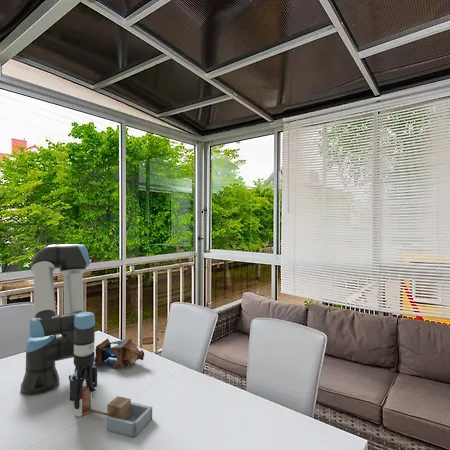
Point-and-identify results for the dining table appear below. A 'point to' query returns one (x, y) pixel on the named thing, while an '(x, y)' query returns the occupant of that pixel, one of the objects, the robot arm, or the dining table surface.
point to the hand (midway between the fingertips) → (83, 411)
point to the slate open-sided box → (131, 421)
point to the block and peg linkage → (108, 406)
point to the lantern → (118, 353)
